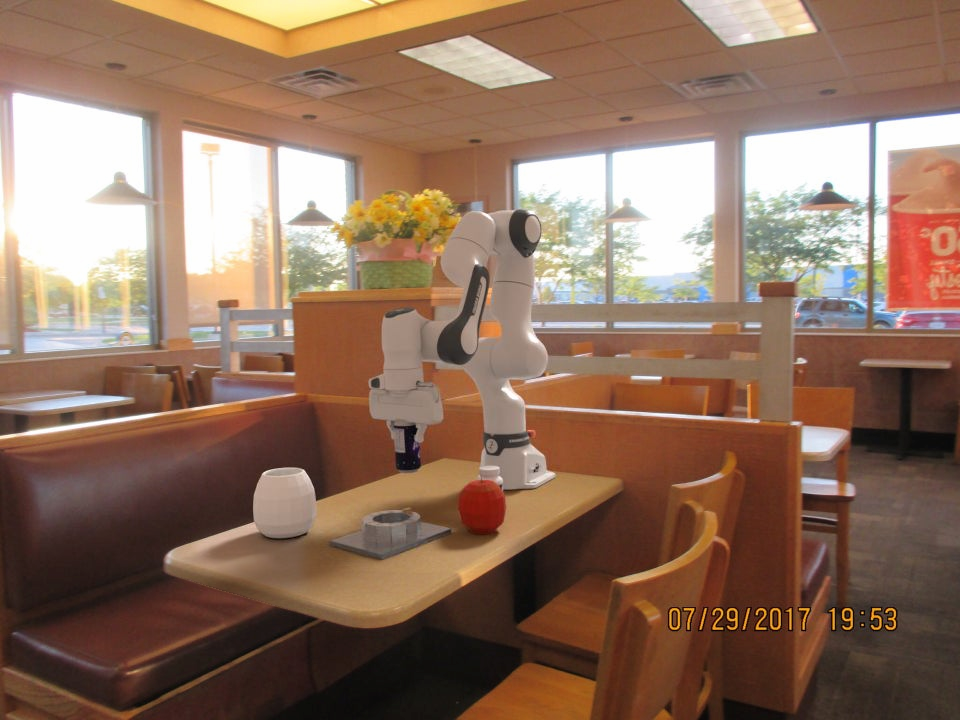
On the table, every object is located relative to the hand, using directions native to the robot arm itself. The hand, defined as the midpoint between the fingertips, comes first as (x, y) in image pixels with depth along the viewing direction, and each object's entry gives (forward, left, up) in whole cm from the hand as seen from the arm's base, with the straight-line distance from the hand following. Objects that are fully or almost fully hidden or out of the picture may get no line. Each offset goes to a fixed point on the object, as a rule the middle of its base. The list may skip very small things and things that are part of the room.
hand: (407, 440), depth 171 cm
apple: (0, +21, -18) cm, 27 cm away
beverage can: (0, 0, -7) cm, 7 cm away
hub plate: (+15, +9, -17) cm, 24 cm away
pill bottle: (-10, +15, -18) cm, 25 cm away
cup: (+25, -13, -18) cm, 33 cm away
